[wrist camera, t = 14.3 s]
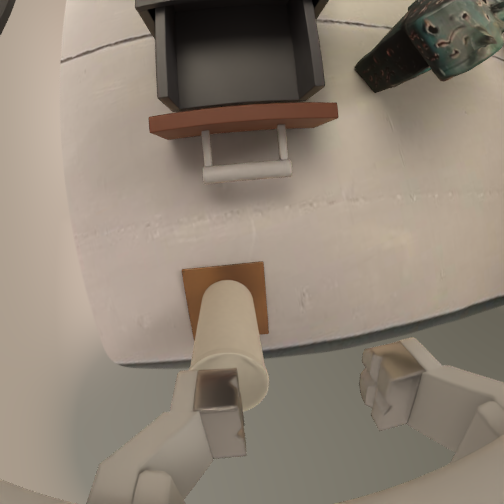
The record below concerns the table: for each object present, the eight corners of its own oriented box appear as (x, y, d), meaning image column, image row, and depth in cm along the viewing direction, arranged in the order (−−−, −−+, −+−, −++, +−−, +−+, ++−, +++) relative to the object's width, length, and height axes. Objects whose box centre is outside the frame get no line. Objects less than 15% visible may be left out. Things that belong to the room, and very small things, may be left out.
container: (205, 329, 32) (195, 416, 20) (197, 281, 31) (179, 356, 18) (256, 324, 33) (271, 409, 20) (252, 275, 31) (266, 348, 19)
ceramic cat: (370, 110, 28) (525, 72, 9) (328, 61, 26) (447, -39, 7) (463, 35, 25) (577, -2, 6) (431, -5, 24) (534, -63, 4)
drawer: (317, 173, 28) (343, 176, 22) (172, 186, 28) (155, 193, 21) (298, 4, 23) (315, -30, 17) (161, 13, 23) (146, -20, 16)
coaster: (194, 338, 33) (194, 340, 33) (182, 269, 31) (181, 270, 30) (268, 331, 33) (268, 333, 33) (263, 261, 31) (263, 262, 31)
